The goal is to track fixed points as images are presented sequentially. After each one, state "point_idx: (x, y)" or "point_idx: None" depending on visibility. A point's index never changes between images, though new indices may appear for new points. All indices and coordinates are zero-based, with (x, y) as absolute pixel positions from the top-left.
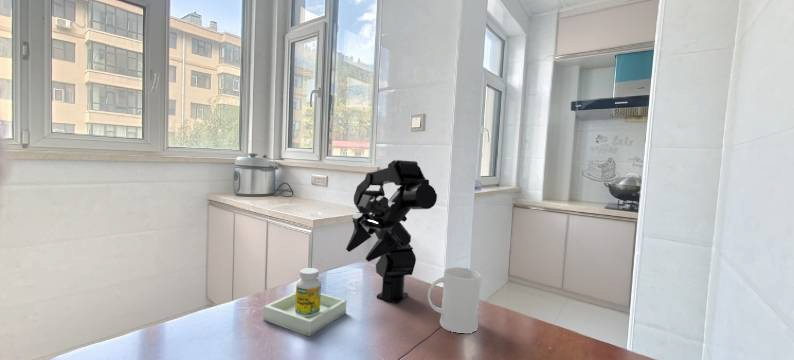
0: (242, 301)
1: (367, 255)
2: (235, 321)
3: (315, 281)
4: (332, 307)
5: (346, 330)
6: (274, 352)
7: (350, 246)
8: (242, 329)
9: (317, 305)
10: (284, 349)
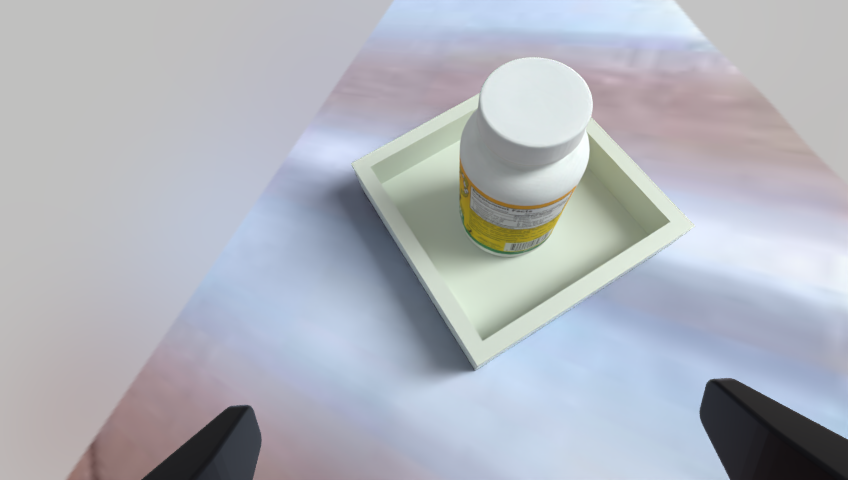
0: (703, 57)
1: (224, 428)
2: (548, 34)
3: (484, 154)
4: (428, 273)
5: (340, 312)
6: (332, 97)
7: (747, 437)
8: (489, 46)
9: (467, 221)
10: (332, 119)
